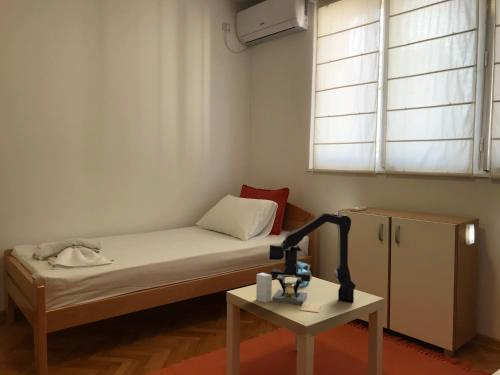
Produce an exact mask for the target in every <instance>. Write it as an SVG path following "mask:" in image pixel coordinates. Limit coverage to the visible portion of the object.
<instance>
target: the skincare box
mask: <svg viewBox="0 0 500 375" xmlns="http://www.w3.org/2000/svg"><path fill="white" fill-rule="evenodd" d="M272 280H273V278H272V275H270V273H269V274H268V273H266V272H261V273H257V274H256V287H255V288H256V290H255V291H256V294H255V295H256V296H255V297H256V298H255V300H257V301H260V302H262V303H265V304H266V303H269V302H271V301H272V297H273V296H272V294H273V293H272V291H273V290H272V284H273V281H272Z"/></svg>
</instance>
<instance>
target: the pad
mask: <svg viewBox="0 0 500 375" xmlns="http://www.w3.org/2000/svg"><path fill="white" fill-rule="evenodd" d="M300 306H301V307H300V308H299V311H302V312H309V313H310V312H311V313H317V314H319V312H320V310H321V309H322V305H321V304H319V305H318V304H311V303H305V302H304V303H303V305H300Z"/></svg>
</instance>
